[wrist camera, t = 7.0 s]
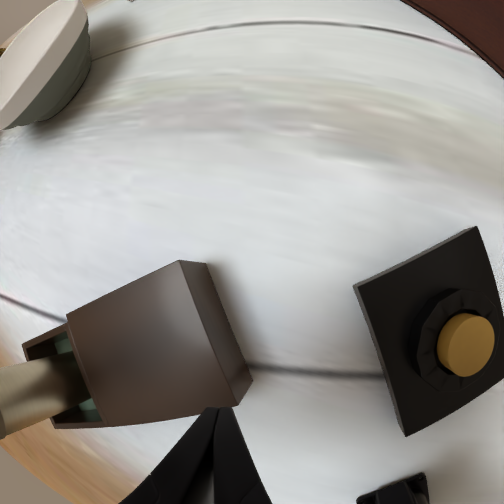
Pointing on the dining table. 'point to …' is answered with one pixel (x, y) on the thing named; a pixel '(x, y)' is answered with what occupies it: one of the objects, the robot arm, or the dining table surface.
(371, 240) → the dining table surface
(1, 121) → the bowl
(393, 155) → the dining table surface
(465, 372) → the button
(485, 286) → the yellow push button box
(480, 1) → the desk organizer
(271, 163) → the dining table surface
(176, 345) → the stepped brown tray
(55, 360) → the tin
